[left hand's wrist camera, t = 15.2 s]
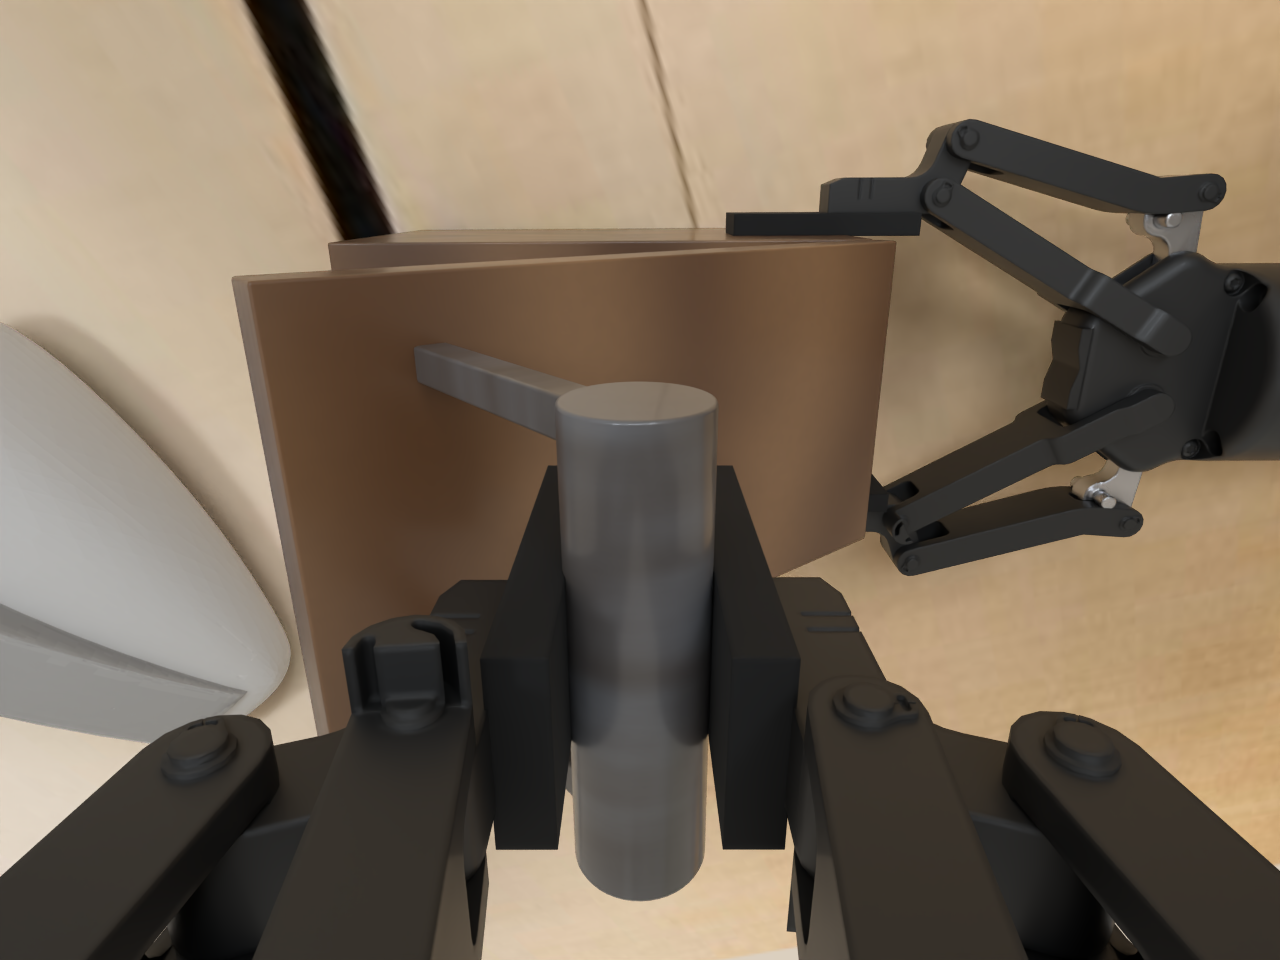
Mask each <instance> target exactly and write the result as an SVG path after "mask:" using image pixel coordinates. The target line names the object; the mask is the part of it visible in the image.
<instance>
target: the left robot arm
mask: <svg viewBox="0 0 1280 960" xmlns="http://www.w3.org/2000/svg"><path fill="white" fill-rule="evenodd" d="M341 650H342V656H343V663H344V669H345V675H346V682H347V688H348V694H349V701H350V707H351V713H352V714H351V716H350V719H349V721H348V724H347V726H346V728H343V729H341V730H339V731H336V732H332V733H329V734H325V735H322V736H318V737H313V738H308V739H304V740H299V741H294V742H289V743H285V744H280V745H275V746H274V745H273V740H272V735H271V730H270V729H269V728H268V727H267V726H266V725H265V724H264V723H263V722H262V721H261V720H260V719H257V718H253V717H249V716H245V715H242V714H241V715H217V716H213V717H207V718H205V719H203V718H202V719H199V720H196V721H192V722H190V723H187V724H185V725H183V726H181V727H179V728H176V729H174V730H172V731H170V732H167V733H165V734H164V735H162V736H161V737H159V738H158V739H156V740H155V741H154V742H152V743H151V744H149V745H148V746H147V747H145V748H144V749H142V750H141V751H140V752H139V753H138V754H137V755H136V756H135V757H133V758H132V759H131V760H130V761H129V762H128V763H127V764H126V765H125V766H123V767H122V768H121V769H120V770H119V771H118V772H117V773H116V774H114V775H113V776H112V777H111V778H110V779H109V780H108V781H107V782H106V783H104V784H103V785H102V786H101V787H100V788H99V789H98V790H97V791H96V792H94V793H93V794H92V795H91V796H90V797H89V798H88V799H87V800H85V801H84V802H83V803H82V804H81V805H80V806H79V807H78V808H77V809H75V810H74V811H73V812H72V813H71V814H70V815H69V816H68V817H67V818H65V819H64V820H63V821H62V822H61V823H60V824H59V825H58V826H56V827H55V828H54V829H53V830H52V831H51V832H50V833H49V834H48V835H46V836H45V837H44V838H43V839H42V840H41V841H40V842H39V843H37V844H36V845H35V846H34V847H33V848H32V849H31V850H30V851H29V852H27V853H26V854H25V855H24V856H23V857H22V858H21V859H20V860H19V861H17V862H16V863H15V864H14V865H13V866H12V867H11V868H10V869H8V870H7V871H6V872H5V873H4V874H3V875H2V876H1V877H0V960H481V958H482V947H483V937H484V927H485V917H486V907H487V897H488V887H489V879H488V868H487V857H486V849H487V845H488V841H489V836H490V832H491V828H492V824H493V821H494V833H495V844H496V850H558V843H559V836H560V828H561V820H562V812H563V804H564V796H565V789H566V781H567V773H568V765H569V757H570V749H571V742H572V736H571V712H570V688H569V663H568V639H567V614H566V590H565V576H564V574H563V571H562V556H561V535H560V513H559V492H558V471H557V465H548V467H547V470H546V473H545V475H544V478H543V481H542V484H541V487H540V490H539V492H538V495H537V498H536V501H535V504H534V507H533V509H532V512H531V515H530V518H529V521H528V524H527V526H526V529H525V532H524V535H523V538H522V541H521V543H520V546H519V549H518V552H517V555H516V558H515V560H514V563H513V566H512V569H511V572H510V575H509V577H508V580H460V581H459V582H457V583H456V584H455V585H453V586H452V587H451V588H449V589H448V590H447V591H445V592H444V593H443V594H441V595H440V596H439V598H438V600H437V602H436V604H435V606H434V608H433V610H432V612H431V613H430V615H410V616H403V617H396V618H391V619H388V620H385V621H382V622H379V623H376V624H373V625H370V626H369V627H367V628H365V629H364V630H362V631H360V632H359V633H357V634H355V635H354V636H352V637H351V638H350V640H349V641H348V642H347V643H346V644H345V646H344V647H343V648H342V649H341ZM708 736H709V744H710V752H711V760H712V768H713V776H714V783H715V791H716V799H717V807H718V815H719V823H720V830H721V838H722V846H723V849H773V850H785V840H786V828H787V817H788V821H789V826H790V830H791V834H792V838H793V842H794V857H793V868H792V879H791V890H790V901H789V912H788V923H787V931H789V932H796V936H797V946H798V956H799V960H1280V871H1279V870H1278V869H1277V868H1276V867H1275V866H1274V865H1273V864H1271V863H1270V862H1269V861H1268V860H1267V859H1266V858H1265V857H1264V856H1262V855H1261V854H1260V853H1259V852H1258V851H1257V850H1256V849H1255V848H1253V847H1252V846H1251V845H1250V844H1249V843H1248V842H1247V841H1246V840H1244V839H1243V838H1242V837H1241V836H1240V835H1239V834H1238V833H1237V832H1235V831H1234V830H1233V829H1232V828H1231V827H1230V826H1229V825H1228V824H1226V823H1225V822H1224V821H1223V820H1222V819H1221V818H1220V817H1219V816H1217V815H1216V814H1215V813H1214V812H1213V811H1212V810H1211V809H1210V808H1208V807H1207V806H1206V805H1205V804H1204V803H1203V802H1202V801H1201V800H1199V799H1198V798H1197V797H1196V796H1195V795H1194V794H1193V793H1192V792H1190V791H1189V790H1188V789H1187V788H1186V787H1185V786H1184V785H1183V784H1181V783H1180V782H1179V781H1178V780H1177V779H1176V778H1175V777H1174V776H1172V775H1171V774H1170V773H1169V772H1168V771H1167V770H1166V769H1165V768H1163V767H1162V766H1161V765H1160V764H1159V763H1158V762H1157V761H1156V760H1154V759H1153V758H1152V757H1151V756H1150V755H1149V754H1148V753H1147V752H1145V751H1144V750H1143V749H1142V748H1141V747H1140V746H1139V745H1137V744H1136V743H1134V742H1133V741H1131V740H1130V739H1129V738H1127V737H1126V736H1124V735H1123V734H1121V733H1120V732H1119V731H1117V730H1115V729H1113V728H1111V727H1108V726H1106V725H1104V724H1102V723H1099V722H1097V721H1095V720H1093V719H1090V718H1087V717H1084V716H1080V715H1079V716H1078V715H1076V714H1070V713H1066V712H1048V711H1039V712H1035V713H1031V714H1027V715H1024V716H1021V717H1020V718H1019V719H1018V720H1017V721H1016V722H1015V723H1014V724H1013V725H1012V726H1011V729H1010V734H1009V739H1008V743H1007V742H1002V741H997V740H992V739H988V738H983V737H978V736H973V735H969V734H964V733H960V732H956V731H953V730H949V729H946V728H943V727H940V726H938V725H936V724H933V722H932V720H931V717H930V715H929V713H928V711H927V710H926V708H925V707H924V706H923V704H922V703H921V701H920V700H919V699H918V698H917V697H916V696H914V695H913V694H911V693H910V692H908V691H907V690H906V689H904V688H903V687H901V686H899V685H896V684H894V683H891V682H889V681H886V679H885V677H884V675H883V673H882V671H881V669H880V667H879V665H878V663H877V661H876V659H875V657H874V655H873V654H872V652H871V650H870V648H869V646H868V644H867V642H866V640H865V638H864V636H863V634H862V632H859V626H858V625H857V623H856V621H855V619H854V617H853V616H851V611H850V609H849V607H848V605H847V603H846V601H845V599H844V597H843V595H842V594H841V593H840V592H839V591H837V590H836V589H835V588H833V587H832V586H831V585H829V584H828V583H827V582H825V581H824V580H823V579H821V578H820V577H772V575H771V572H770V570H769V567H768V564H767V561H766V558H765V555H764V553H763V550H762V547H761V544H760V541H759V538H758V536H757V533H756V530H755V527H754V524H753V521H752V519H751V516H750V513H749V510H748V507H747V504H746V502H745V499H744V496H743V493H742V490H741V487H740V485H739V482H738V479H737V476H736V473H735V470H734V468H733V465H717V476H716V508H715V540H714V572H713V604H712V635H711V665H710V694H709V724H708ZM1115 923H1116V924H1117V925H1118V926H1119V928H1120V929H1121V930H1122V931H1123V933H1124V934H1125V935H1126V936H1127V938H1128V939H1129V940H1130V941H1131V942H1132V943H1131V942H1130V941H1129V940H1128V939H1127V938H1126V937H1125V936H1124V935H1123V933H1122V932H1121V931H1120V930H1119V928H1118V927H1117V926H1116V925H1115ZM166 926H167V927H166ZM164 929H165V930H164ZM163 930H164V931H163ZM162 931H163V932H162ZM159 935H160V936H159ZM158 936H159V937H158ZM155 940H156V941H155ZM154 941H155V942H154ZM153 942H154V943H153Z"/></svg>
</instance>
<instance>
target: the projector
mask: <svg viewBox="0 0 1280 960" xmlns="http://www.w3.org/2000/svg"><path fill="white" fill-rule="evenodd" d="M290 657H291V649H290V645H289V641H288V638H287V635H286V633H285V631H284V629H283V627H282V625H281V623H280V621H279V619H278V617H277V616H276V614H275V612H274V610H273V608H272V607H271V605H270V603H269V602H268V600H267V598H266V597H265V595H264V593H263V592H262V590H261V589H260V587H259V585H258V584H257V582H256V581H255V579H254V578H253V576H252V575H251V573H250V572H249V570H248V569H247V567H246V566H245V564H244V563H243V561H242V560H241V558H240V557H239V555H238V554H237V553H236V551H235V550H234V548H233V547H232V546H231V544H230V543H229V541H228V540H227V539H226V537H225V536H224V535H223V533H222V532H221V531H220V529H219V528H218V527H217V525H216V524H215V523H214V521H213V520H212V519H211V518H210V516H209V515H208V514H207V513H206V511H205V510H204V509H203V508H202V506H201V505H200V504H199V503H198V501H197V500H196V499H195V498H194V496H193V495H192V494H191V493H190V492H189V491H188V489H187V488H186V487H185V486H184V485H183V484H182V482H181V481H180V480H179V479H178V478H177V477H176V476H175V474H174V473H173V472H172V471H171V470H170V469H169V467H168V466H167V465H166V464H165V463H164V462H163V461H162V460H161V459H160V458H159V457H158V456H157V455H156V453H155V452H154V451H153V450H152V449H151V448H150V447H149V446H148V445H147V444H146V443H145V442H144V441H143V439H142V438H141V437H140V436H139V435H138V434H137V433H136V432H135V431H134V430H133V429H132V428H131V427H130V426H129V425H128V424H127V423H126V422H125V421H124V420H123V419H122V418H121V417H120V416H119V415H118V414H117V413H116V412H115V411H114V410H113V409H112V408H111V407H110V406H109V405H108V404H106V403H105V402H104V401H103V400H102V399H101V398H100V397H99V396H98V395H97V394H96V393H95V392H94V391H93V390H92V389H91V388H90V387H89V386H87V385H86V384H85V383H84V382H83V381H82V380H81V379H80V378H78V377H77V376H76V375H75V374H74V373H73V372H72V371H70V370H69V369H68V368H67V367H66V366H65V365H63V364H62V363H61V362H60V361H58V360H57V359H56V358H55V357H53V356H52V355H51V354H50V353H48V352H47V351H46V350H44V349H43V348H42V347H41V346H39V345H38V344H36V343H35V342H33V341H32V340H30V339H29V338H27V337H26V336H24V335H23V334H21V333H20V332H18V331H17V330H15V329H13V328H11V327H9V326H8V325H6V324H4V323H2V322H0V716H1V717H5V718H10V719H15V720H19V721H24V722H29V723H33V724H38V725H43V726H48V727H54V728H59V729H65V730H70V731H75V732H81V733H86V734H91V735H97V736H103V737H110V738H116V739H123V740H130V741H136V742H143V743H152V742H154V741H155V740H156V739H158V738H159V737H161V736H162V735H164V734H165V733H167V732H170V731H172V730H174V729H176V728H179V727H181V726H183V725H185V724H187V723H190V722H192V721H196V720H199V719H202V718H203V719H205V718H207V717H213V716H217V715H241V714H242V715H245V716H247V715H248V714H249V713H251V712H252V711H253V710H255V709H256V708H257V707H258V706H259V705H260V704H262V703H263V702H264V701H265V700H266V699H267V698H268V697H269V696H270V695H271V694H272V693H273V692H274V691H275V690H276V689H277V687H278V686H279V685H280V683H281V682H282V680H283V679H284V677H285V675H286V672H287V670H288V667H289V663H290Z"/></svg>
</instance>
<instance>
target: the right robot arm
mask: <svg viewBox="0 0 1280 960" xmlns="http://www.w3.org/2000/svg"><path fill="white" fill-rule="evenodd" d="M926 149H927V150H926V153H925V155H924V157H923V159H922V161H921V163H920V165H919V167H918V168H917V169H916V171H915V172H914V173H912V174H911V175H909V176H907V177H896V178H838V179H834V180H831V181H829V182H826V183H824V184H822V185H821V191H820V205H819V212H746V213H726V233H727V234H730V235H732V236H800V235H848V236H919V235H920V226H921V219H922V220H924V221H926V222H927V223H929V224H930V225H932V226H933V227H935V228H937V229H938V230H940V231H941V232H943V233H945V234H946V235H948V236H949V237H951V238H953V239H954V240H956V241H957V242H959V243H960V244H962V245H964V246H965V247H967V248H968V249H970V250H972V251H973V252H975V253H976V254H978V255H979V256H981V257H983V258H984V259H986V260H987V261H989V262H991V263H992V264H994V265H995V266H997V267H998V268H1000V269H1002V270H1003V271H1005V272H1006V273H1008V274H1010V275H1011V276H1013V277H1014V278H1016V279H1018V280H1019V281H1021V282H1022V283H1024V284H1025V285H1027V286H1029V287H1030V288H1032V289H1033V290H1035V291H1036V292H1037V294H1038V295H1039V296H1041V297H1042V298H1044V299H1045V300H1047V301H1049V302H1050V303H1052V304H1053V305H1055V306H1056V307H1058V308H1060V309H1061V310H1063V311H1064V312H1066V313H1065V315H1064V316H1063V318H1062V320H1061V321H1055V323H1054V328H1053V334H1052V339H1051V342H1052V354H1053V360H1052V363H1051V365H1050V367H1049V369H1048V372H1047V374H1046V376H1045V378H1044V382H1043V388H1042V393H1041V398H1043V399H1045V401H1043V402H1041V403H1039V404H1037V405H1035V406H1033V407H1031V408H1029V409H1027V410H1025V411H1023V412H1021V413H1019V414H1018V415H1017V416H1016V418H1015V421H1014V422H1012V423H1011V424H1009V425H1007V426H1005V427H1003V428H1001V429H999V430H997V431H995V432H993V433H991V434H989V435H987V436H985V437H983V438H981V439H979V440H977V441H975V442H973V443H971V444H968V445H966V446H964V447H962V448H960V449H958V450H956V451H954V452H952V453H950V454H948V455H946V456H944V457H942V458H940V459H938V460H936V461H934V462H932V463H930V464H928V465H926V466H924V467H922V468H920V469H918V470H916V471H914V472H912V473H910V474H908V475H906V476H904V477H902V478H900V479H898V480H896V481H894V482H892V483H890V484H888V485H886V486H884V487H882V486H881V484H880V483H879V482H878V481H877V480H876V478H875V477H874V476H873V475H872V474H871V483H870V492H869V501H868V511H867V520H866V529H865V532H877V533H880V536H881V537H880V542H881V545H882V547H883V548H884V550H885V551H886V552H887V554H888V555H889V557H890V558H891V560H892V561H893V563H894V564H895V566H896V567H897V568H898V570H899V571H900V572H901V573H902V574H904V575H907V576H914V575H918V574H922V573H926V572H930V571H935V570H939V569H943V568H947V567H951V566H955V565H959V564H963V563H967V562H972V561H976V560H980V559H984V558H988V557H992V556H996V555H1000V554H1005V553H1009V552H1013V551H1017V550H1021V549H1025V548H1029V547H1033V546H1037V545H1042V544H1046V543H1050V542H1054V541H1058V540H1062V539H1066V538H1070V537H1074V536H1079V535H1083V534H1085V535H1099V536H1114V537H1130V536H1132V535H1134V534H1136V533H1137V532H1138V531H1139V530H1140V529H1141V527H1142V525H1143V517H1142V514H1140V513H1139V512H1138V511H1137V510H1135V509H1133V508H1132V507H1131V506H1132V503H1133V500H1134V497H1135V493H1136V490H1137V487H1138V484H1139V481H1140V478H1141V475H1142V472H1144V471H1148V470H1151V469H1154V468H1156V467H1158V466H1160V465H1162V464H1165V463H1167V462H1170V461H1175V460H1200V461H1240V460H1280V263H1220V264H1217V263H1214V262H1212V261H1210V260H1208V259H1207V258H1206V257H1204V256H1203V255H1201V254H1199V253H1196V251H1197V246H1198V240H1199V234H1200V228H1201V222H1202V216H1203V211H1206V210H1210V209H1213V208H1214V207H1216V206H1217V205H1219V203H1220V202H1221V201H1222V200H1223V198H1224V196H1225V193H1226V182H1225V180H1224V178H1223V177H1221V176H1220V175H1218V174H1192V175H1171V176H1154V175H1151V174H1148V173H1145V172H1141V171H1138V170H1135V169H1132V168H1129V167H1125V166H1122V165H1119V164H1116V163H1113V162H1110V161H1106V160H1103V159H1100V158H1097V157H1094V156H1090V155H1087V154H1084V153H1081V152H1078V151H1074V150H1071V149H1068V148H1065V147H1062V146H1059V145H1055V144H1052V143H1049V142H1046V141H1043V140H1039V139H1036V138H1033V137H1030V136H1027V135H1023V134H1020V133H1017V132H1014V131H1011V130H1008V129H1004V128H1001V127H998V126H995V125H992V124H988V123H985V122H982V121H979V120H974V119H968V120H964V121H960V122H956V123H952V124H948V125H944V126H941V127H938V128H936V129H935V130H933V131H932V132H931V133H930V135H929V137H928V139H927V143H926ZM967 170H968V171H971V172H974V173H977V174H981V175H984V176H987V177H990V178H994V179H997V180H1000V181H1003V182H1007V183H1010V184H1013V185H1016V186H1020V187H1023V188H1026V189H1029V190H1033V191H1036V192H1039V193H1042V194H1046V195H1049V196H1052V197H1055V198H1059V199H1062V200H1065V201H1068V202H1072V203H1075V204H1078V205H1082V206H1085V207H1088V208H1091V209H1095V210H1099V211H1104V212H1112V213H1128V214H1127V217H1126V223H1127V224H1128V225H1129V226H1130V229H1131V230H1132V232H1133V233H1135V234H1137V235H1142V236H1146V237H1147V238H1149V239H1150V240H1151V242H1152V244H1153V253H1151V254H1149V255H1147V256H1145V257H1144V258H1142V259H1141V260H1139V261H1138V262H1136V263H1135V264H1133V265H1131V266H1130V267H1128V268H1127V269H1125V270H1124V271H1122V272H1121V273H1119V274H1118V275H1116V276H1115V277H1113V278H1110V277H1108V276H1106V275H1104V274H1102V273H1100V272H1097V271H1095V270H1093V269H1091V268H1089V267H1087V266H1086V265H1084V264H1083V263H1081V262H1080V261H1078V260H1077V259H1075V258H1073V257H1072V256H1070V255H1069V254H1067V253H1066V252H1064V251H1063V250H1061V249H1060V248H1058V247H1056V246H1055V245H1053V244H1052V243H1050V242H1049V241H1047V240H1046V239H1044V238H1043V237H1041V236H1039V235H1038V234H1036V233H1035V232H1033V231H1032V230H1030V229H1029V228H1027V227H1026V226H1024V225H1022V224H1021V223H1019V222H1018V221H1016V220H1015V219H1013V218H1012V217H1010V216H1009V215H1007V214H1005V213H1004V212H1002V211H1001V210H999V209H998V208H996V207H995V206H993V205H991V204H990V203H988V202H987V201H985V200H984V199H982V198H981V197H979V196H978V195H976V194H974V193H973V192H971V191H970V190H968V189H967V188H965V187H964V186H962V185H961V183H962V180H963V178H964V176H965V174H966V172H967ZM1063 426H1064V427H1063ZM1094 452H1097V453H1098V454H1099V455H1100V456H1102V457H1103V458H1104V459H1106V460H1107V461H1106V463H1105V465H1104V467H1103V468H1102V469H1101V470H1100V471H1099V472H1097V473H1095V474H1093V475H1087V476H1083V477H1081V476H1077V477H1074V478H1073V479H1072V481H1071V486H1059V487H1049V488H1044V489H1039V490H1035V491H1031V492H1027V493H1023V494H1019V495H1015V496H1011V497H1007V498H1003V499H999V500H995V501H991V502H987V503H983V504H979V505H975V506H971V507H967V508H964V507H966V506H968V505H970V504H972V503H974V502H976V501H978V500H980V499H983V498H985V497H987V496H989V495H991V494H993V493H995V492H997V491H999V490H1001V489H1003V488H1005V487H1007V486H1010V485H1012V484H1014V483H1016V482H1018V481H1020V480H1022V479H1024V478H1026V477H1028V476H1030V475H1032V474H1034V473H1036V472H1039V471H1041V470H1043V469H1045V468H1047V467H1049V466H1051V465H1056V464H1069V463H1072V462H1075V461H1077V460H1079V459H1081V458H1083V457H1085V456H1087V455H1089V454H1091V453H1094ZM962 508H963V509H962Z"/></svg>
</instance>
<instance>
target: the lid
mask: <svg viewBox="0 0 1280 960" xmlns="http://www.w3.org/2000/svg"><path fill="white" fill-rule="evenodd" d="M895 250H896V242H895V241H883V240H851V241H833V242H816V243H799V244H782V245H764V246H747V247H730V248H712V249H695V250H678V251H661V252H643V253H626V254H609V255H592V256H574V257H557V258H540V259H523V260H505V261H488V262H471V263H454V264H436V265H419V266H402V267H385V268H367V269H350V270H333V271H316V272H298V273H281V274H264V275H246V276H234V277H232V285H233V290H234V296H235V301H236V306H237V312H238V317H239V322H240V327H241V333H242V338H243V343H244V349H245V354H246V359H247V364H248V370H249V375H250V380H251V386H252V391H253V396H254V401H255V407H256V412H257V417H258V423H259V428H260V433H261V438H262V444H263V449H264V454H265V460H266V465H267V470H268V475H269V481H270V486H271V491H272V497H273V502H274V507H275V512H276V518H277V523H278V528H279V534H280V539H281V544H282V549H283V555H284V560H285V565H286V571H287V576H288V581H289V586H290V592H291V597H292V602H293V608H294V613H295V618H296V623H297V629H298V634H299V639H300V645H301V650H302V655H303V660H304V666H305V671H306V676H307V682H308V687H309V692H310V697H311V703H312V708H313V713H314V719H315V724H316V729H317V734H318V736H322V735H325V734H329V733H332V732H336V731H339V730H341V729H343V728H346V726H347V724H348V721H349V719H350V716H351V714H352V713H351V707H350V701H349V694H348V688H347V682H346V675H345V669H344V663H343V656H342V650H341V649H342V648H343V647H344V646H345V644H346V643H347V642H348V641H349V640H350V638H351V637H352V636H354V635H355V634H357V633H359V632H360V631H362V630H364V629H365V628H367V627H369V626H370V625H373V624H376V623H379V622H382V621H385V620H388V619H391V618H396V617H403V616H410V615H430V613H431V612H432V610H433V608H434V606H435V604H436V602H437V600H438V598H439V596H440V595H441V594H443V593H444V592H445V591H447V590H448V589H449V588H451V587H452V586H453V585H455V584H456V583H457V582H459V581H460V580H508V577H509V575H510V572H511V569H512V566H513V563H514V560H515V558H516V555H517V552H518V549H519V546H520V543H521V541H522V538H523V535H524V532H525V529H526V526H527V524H528V521H529V518H530V515H531V512H532V509H533V507H534V504H535V501H536V498H537V495H538V492H539V490H540V487H541V484H542V481H543V478H544V475H545V473H546V470H547V467H548V465H557V471H558V492H559V513H560V535H561V556H562V571H563V574H564V576H565V590H566V614H567V639H568V663H569V688H570V712H571V736H572V742H571V749H570V757H569V765H568V773H567V781H566V790H567V791H568V792H569V793H570V794H571V795H572V796H573V812H574V833H575V853H576V859H577V862H578V865H579V867H580V869H581V871H582V872H583V874H584V875H585V876H586V878H587V879H588V880H589V881H590V882H591V883H592V884H593V885H594V886H595V887H597V888H598V889H599V890H601V891H603V892H604V893H606V894H608V895H611V896H613V897H616V898H620V899H623V900H630V901H651V900H656V899H660V898H663V897H666V896H669V895H671V894H673V893H675V892H677V891H679V890H680V889H682V888H683V887H684V886H686V885H687V884H688V883H689V882H690V881H691V880H692V879H693V878H694V876H695V875H696V873H697V872H698V870H699V868H700V866H701V864H702V862H703V858H704V852H705V829H706V797H707V765H708V724H709V694H710V665H711V635H712V604H713V572H714V540H715V508H716V476H717V465H733V468H734V470H735V473H736V476H737V479H738V482H739V485H740V487H741V490H742V493H743V496H744V499H745V502H746V504H747V507H748V510H749V513H750V516H751V519H752V521H753V524H754V527H755V530H756V533H757V536H758V538H759V541H760V544H761V547H762V550H763V553H764V555H765V558H766V561H767V564H768V567H769V570H770V572H771V575H772V577H777V576H780V575H782V574H784V573H786V572H789V571H791V570H793V569H796V568H798V567H800V566H802V565H805V564H807V563H809V562H812V561H814V560H816V559H818V558H821V557H823V556H825V555H827V554H830V553H832V552H834V551H837V550H839V549H841V548H843V547H846V546H848V545H850V544H852V543H855V542H857V541H859V540H862V539H864V537H865V529H866V520H867V511H868V501H869V492H870V483H871V474H872V464H873V455H874V446H875V436H876V427H877V418H878V408H879V399H880V390H881V380H882V371H883V362H884V352H885V343H886V334H887V324H888V315H889V306H890V296H891V287H892V278H893V269H894V259H895Z"/></svg>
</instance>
